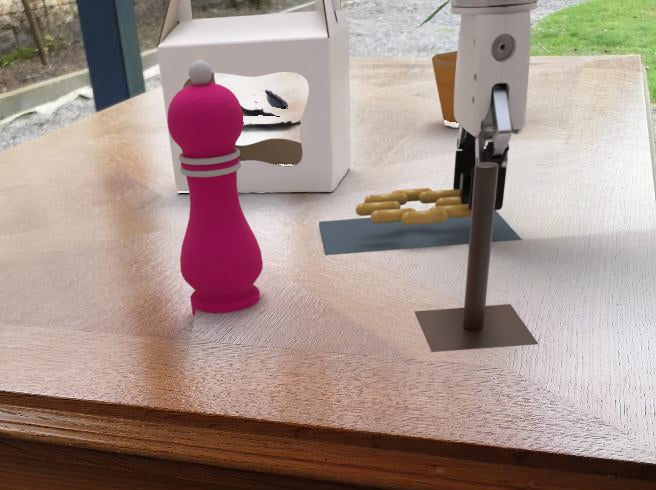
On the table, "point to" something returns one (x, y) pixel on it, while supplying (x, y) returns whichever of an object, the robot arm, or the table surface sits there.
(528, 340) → the peg stand
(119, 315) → the table surface
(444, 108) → the potted plant
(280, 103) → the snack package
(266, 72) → the gable box
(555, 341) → the table surface
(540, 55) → the table surface
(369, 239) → the mat
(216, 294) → the pepper mill
